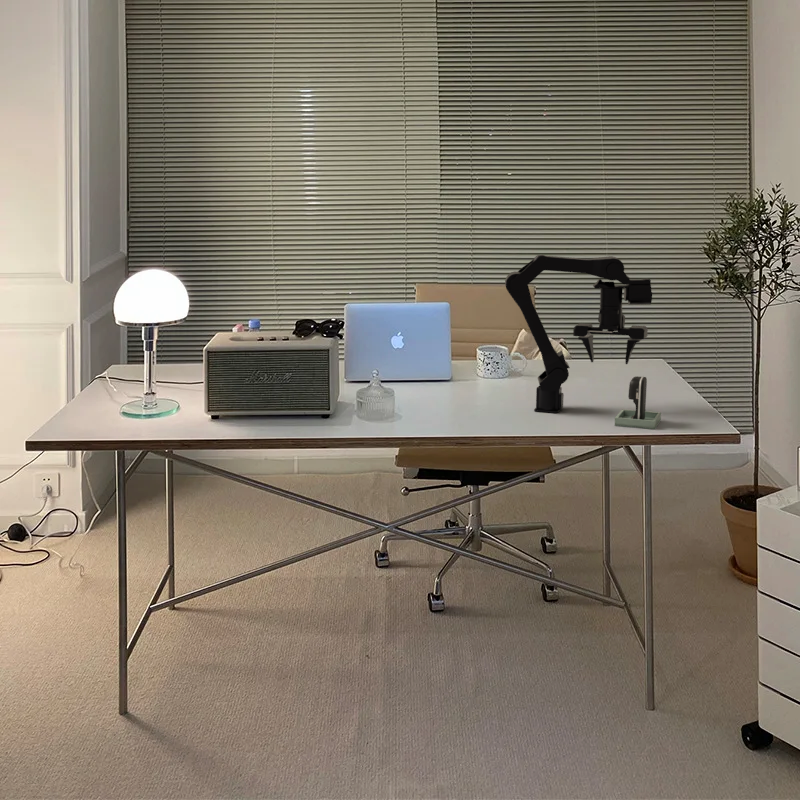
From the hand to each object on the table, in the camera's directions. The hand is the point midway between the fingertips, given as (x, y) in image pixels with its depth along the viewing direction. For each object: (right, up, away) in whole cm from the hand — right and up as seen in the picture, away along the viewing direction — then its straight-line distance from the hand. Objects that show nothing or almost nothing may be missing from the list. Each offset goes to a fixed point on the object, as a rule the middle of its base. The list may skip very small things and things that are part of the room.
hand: (609, 363), depth 280 cm
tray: (+5, -16, -11) cm, 20 cm away
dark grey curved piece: (+5, -15, -11) cm, 19 cm away
